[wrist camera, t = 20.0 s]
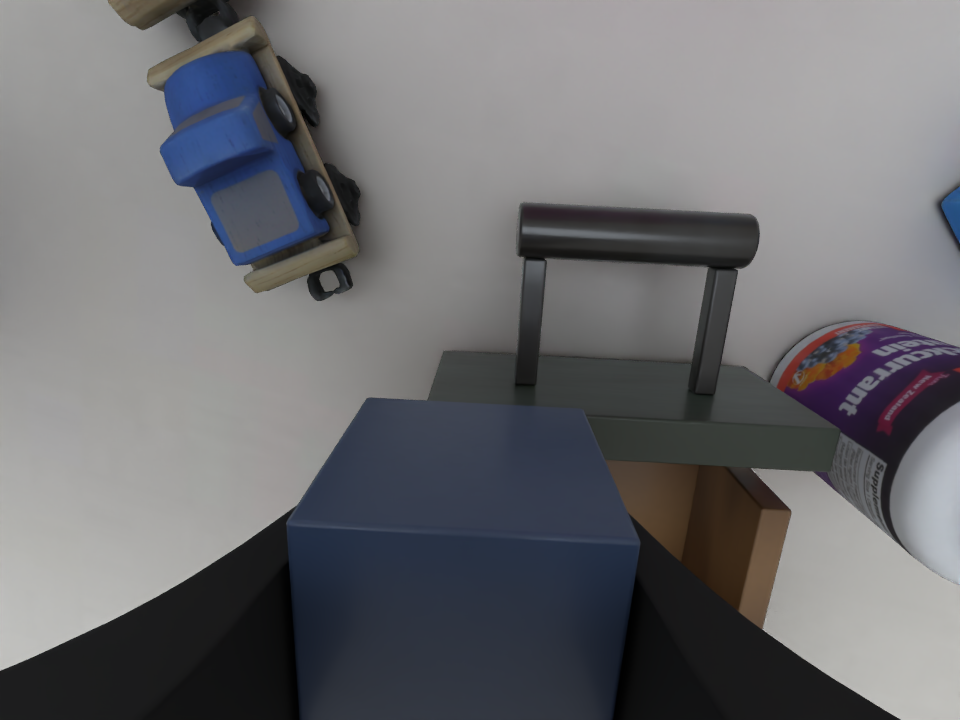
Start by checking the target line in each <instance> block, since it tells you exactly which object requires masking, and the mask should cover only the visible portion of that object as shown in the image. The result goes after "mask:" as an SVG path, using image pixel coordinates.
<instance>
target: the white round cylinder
mask: <svg viewBox="0 0 960 720" xmlns="http://www.w3.org/2000/svg"><path fill="white" fill-rule="evenodd" d="M770 384H772V385H773V386H775V387H776V388H778V389H779V390H781V391H782V392H784V393H785V394H787V395H788V396H790V397H792V398H793V399H795V400H796V401H798V402H799V403H801V404H802V405H804V406H805V407H807V408H808V409H810V410H811V411H813V412H815V413H816V414H818V415H819V416H821V417H822V418H824V419H825V420H827V421H828V422H830V423H831V424H833V425H835V426H836V427H838V428H839V429H840V431H841V433H840V436H839V440H838V444H837V448H836V451H835V455H834V459H833V462H832V466H831V470H830V471H829V472H816V471H813V472H814V473H815V474H816V475H818V476H819V477H820V478H822V479H823V480H824V481H825V482H826V483H827V484H828V485H830V486H831V487H832V488H833V489H834V490H835V491H837V492H838V493H839V494H840V495H841V496H843V497H844V498H845V499H846V500H847V501H848V502H849V503H851V504H852V505H853V506H854V507H855V508H857V509H858V510H859V511H860V512H861V513H863V514H864V515H865V516H866V517H867V518H869V519H870V520H871V521H872V522H873V523H874V524H875V525H877V526H878V527H879V528H880V529H881V530H883V531H884V532H885V533H886V534H887V535H889V536H890V537H891V538H892V539H893V540H894V541H896V542H897V543H898V544H899V545H900V546H901V547H903V548H904V549H905V550H906V551H907V552H908V553H909V554H910V555H912V556H913V557H914V558H915V559H917V560H918V561H919V562H921V563H922V564H924V565H925V566H926V567H928V568H929V569H930V570H932V571H933V572H935V573H936V574H938V575H940V576H941V577H943V578H945V579H947V580H949V581H951V582H953V583H956V584H958V585H960V347H957V346H953V345H950V344H946V343H943V342H941V341H938V340H934V339H931V338H928V337H925V336H922V335H919V334H916V333H913V332H910V331H907V330H903V329H900V328H897V327H894V326H890V325H886V324H882V323H877V322H871V321H850V322H843V323H838V324H834V325H831V326H828V327H825V328H823V329H821V330H818V331H816V332H814V333H812V334H811V335H809V336H808V337H806V338H805V339H803V340H802V341H800V342H799V343H798V344H797V345H795V346H794V347H793V348H792V349H791V350H790V351H789V352H788V353H787V354H786V355H785V357H784V358H783V359H782V361H781V362H780V363H779V365H778V367H777V368H776V370H775V372H774V374H773V376H772V379H771V381H770Z"/></svg>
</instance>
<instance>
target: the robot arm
mask: <svg viewBox="0 0 960 720" xmlns="http://www.w3.org/2000/svg"><path fill="white" fill-rule="evenodd" d="M295 508H296V506H295V507H294V508H293V509H291V510H290V511H288V512H287V513H286V514H284V515H283V516H282V517H280V518H279V519H277V520H276V521H275V522H273V523H272V524H270V525H269V526H268V527H266V528H265V529H263V530H262V531H260V532H259V533H258V534H256V535H255V536H253V537H252V538H251V539H249V540H248V541H246V542H245V543H243V544H242V545H240V546H239V547H237V548H236V549H234V550H233V551H231V552H229V553H228V554H226V555H225V556H223V557H222V558H220V559H219V560H217V561H215V562H214V563H212V564H211V565H209V566H208V567H206V568H204V569H203V570H201V571H200V572H198V573H197V574H195V575H194V576H192V577H190V578H189V579H187V580H185V581H184V582H182V583H180V584H179V585H177V586H175V587H173V588H172V589H170V590H168V591H166V592H165V593H163V594H161V595H159V596H157V597H156V598H154V599H152V600H150V601H148V602H146V603H144V604H143V605H141V606H139V607H137V608H135V609H133V610H131V611H129V612H128V613H126V614H124V615H122V616H120V617H118V618H116V619H114V620H112V621H110V622H108V623H106V624H104V625H101V626H99V627H97V628H95V629H93V630H91V631H89V632H86V633H84V634H82V635H80V636H78V637H76V638H73V639H71V640H69V641H67V642H65V643H63V644H61V645H58V646H56V647H54V648H52V649H50V650H48V651H45V652H43V653H41V654H39V655H37V656H35V657H32V658H30V659H28V660H25V661H23V662H21V663H18V664H16V665H14V666H11V667H9V668H6V669H4V670H1V671H0V720H299V705H298V690H297V675H296V660H295V645H294V630H293V615H292V600H291V585H290V570H289V555H288V540H287V525H286V523H287V521H288V519H289V517H290V516H291V514H292V513H293V511H294V510H295ZM628 514H629V513H628ZM629 516H630V519H631V521H632V523H633V526H634V528H635V530H636V532H637V535H638V537H639V540H640V550H639V556H638V563H637V569H636V576H635V582H634V588H633V595H632V601H631V608H630V614H629V621H628V627H627V634H626V640H625V647H624V653H623V659H622V666H621V672H620V679H619V685H618V692H617V698H616V705H615V711H614V718H613V720H900V719H899V718H897V717H895V716H893V715H892V714H890V713H888V712H887V711H885V710H883V709H882V708H880V707H878V706H877V705H875V704H873V703H872V702H870V701H869V700H867V699H865V698H864V697H862V696H860V695H859V694H857V693H856V692H854V691H852V690H851V689H849V688H847V687H846V686H844V685H843V684H841V683H839V682H838V681H836V680H835V679H833V678H831V677H830V676H828V675H827V674H825V673H824V672H822V671H821V670H819V669H818V668H816V667H815V666H813V665H812V664H810V663H808V662H807V661H806V660H804V659H803V658H801V657H800V656H798V655H797V654H796V653H794V652H793V651H791V650H790V649H789V648H787V647H786V646H784V645H783V644H781V643H780V642H779V641H777V640H776V639H774V638H773V637H772V636H770V635H769V634H767V633H766V632H765V631H763V630H762V629H760V628H759V627H758V626H757V625H755V624H754V623H753V622H751V621H750V620H749V619H747V618H746V617H745V616H743V615H742V614H741V613H740V612H738V611H737V610H736V609H735V608H733V607H732V606H731V605H730V604H729V603H727V602H726V601H725V600H724V599H722V598H721V597H720V596H719V595H718V594H716V593H715V592H714V591H713V590H711V589H710V588H709V587H708V586H707V585H706V584H704V583H703V582H702V581H701V580H700V579H699V578H698V577H696V576H695V575H694V574H693V573H692V572H691V571H690V570H689V569H687V568H686V567H685V566H684V565H683V564H682V563H681V562H680V561H679V560H678V559H676V558H675V557H674V556H673V555H672V554H671V553H670V552H669V551H668V550H667V549H666V548H665V547H664V546H663V545H661V544H660V543H659V542H658V541H657V540H656V539H655V538H654V537H653V536H652V535H651V534H650V533H649V532H648V531H647V530H646V529H645V528H644V527H643V526H642V525H641V524H640V523H639V522H638V521H637V520H636V519H635V518H633V517H632V516H631V515H630V514H629Z"/></svg>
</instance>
